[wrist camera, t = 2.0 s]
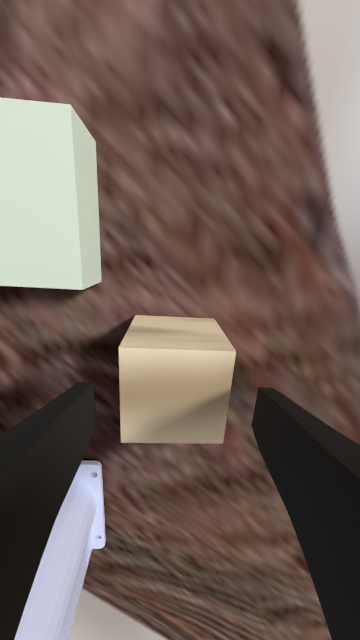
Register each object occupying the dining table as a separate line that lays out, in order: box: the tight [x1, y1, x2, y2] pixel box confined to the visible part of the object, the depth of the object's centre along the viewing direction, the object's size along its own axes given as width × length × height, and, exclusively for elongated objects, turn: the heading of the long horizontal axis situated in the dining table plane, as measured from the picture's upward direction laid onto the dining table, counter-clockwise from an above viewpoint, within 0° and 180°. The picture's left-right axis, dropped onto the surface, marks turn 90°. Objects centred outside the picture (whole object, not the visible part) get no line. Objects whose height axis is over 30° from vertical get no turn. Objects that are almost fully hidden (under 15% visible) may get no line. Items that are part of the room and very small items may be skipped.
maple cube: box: [119, 315, 236, 443], centre depth 13 cm, size 5×5×5 cm
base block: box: [0, 98, 102, 290], centre depth 11 cm, size 7×7×3 cm
